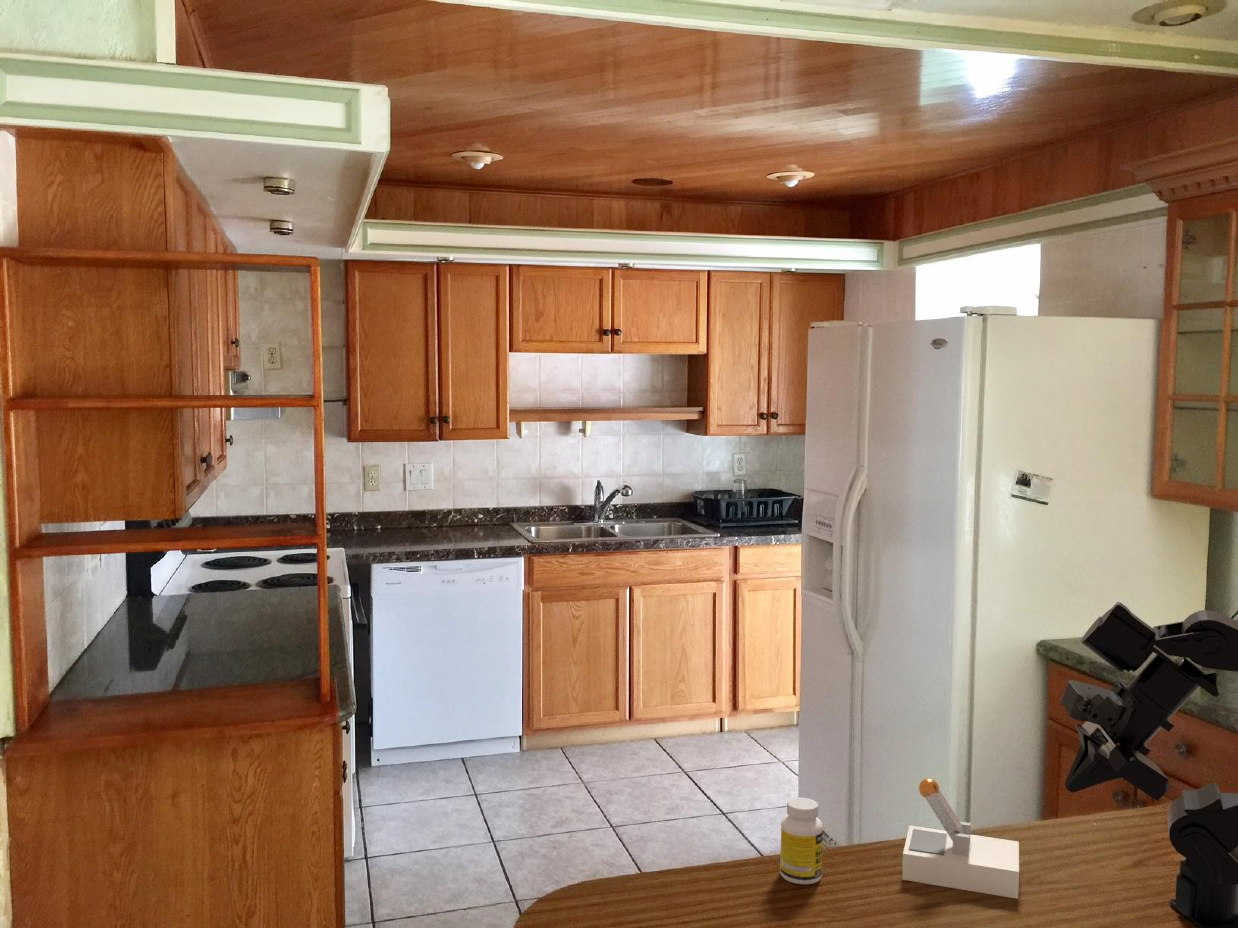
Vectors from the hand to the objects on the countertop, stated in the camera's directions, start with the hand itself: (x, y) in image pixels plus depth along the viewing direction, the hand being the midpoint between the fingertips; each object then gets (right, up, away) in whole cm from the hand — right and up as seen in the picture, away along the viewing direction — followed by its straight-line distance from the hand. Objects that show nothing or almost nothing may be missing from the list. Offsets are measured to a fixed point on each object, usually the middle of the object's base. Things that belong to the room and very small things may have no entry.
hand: (1067, 789), depth 129 cm
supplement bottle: (-32, -13, +6) cm, 36 cm away
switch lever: (-11, -8, +6) cm, 15 cm away
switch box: (-11, -13, +6) cm, 18 cm away
